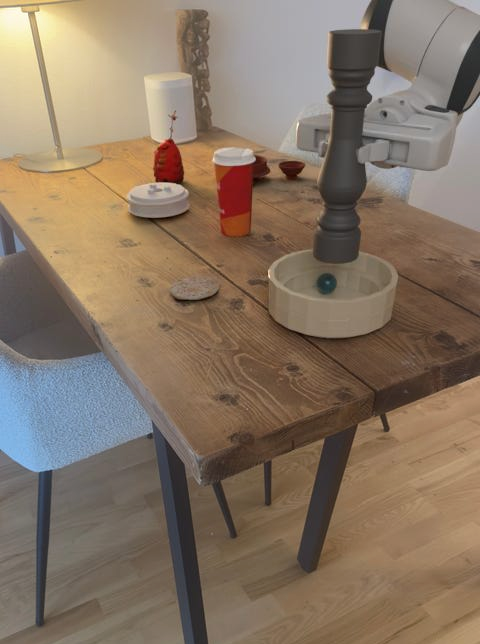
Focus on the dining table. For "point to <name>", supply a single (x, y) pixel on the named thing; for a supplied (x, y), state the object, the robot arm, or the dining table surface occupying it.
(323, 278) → the bead
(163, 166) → the red vase with sprig
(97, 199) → the dining table surface
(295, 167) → the pottery
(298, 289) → the bowl
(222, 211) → the paper cup
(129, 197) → the lid
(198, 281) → the flatbread
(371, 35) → the candle holder
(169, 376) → the dining table surface
